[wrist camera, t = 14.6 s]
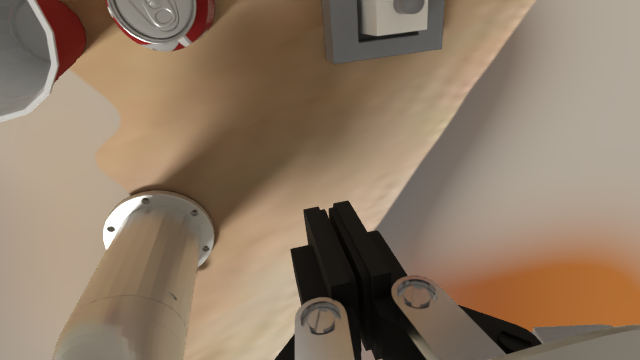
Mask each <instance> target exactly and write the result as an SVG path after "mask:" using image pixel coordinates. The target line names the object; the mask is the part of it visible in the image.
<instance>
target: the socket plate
mask: <svg viewBox="0 0 640 360" xmlns="http://www.w3.org/2000/svg"><path fill="white" fill-rule="evenodd" d="M444 2H445V0H428V17H427V30H419V31H412V32H404V33H397V34H389V35H382V36H373V35H368V34H362V33H358V20H357V0H321V4H322V15H323V27H324V38H325V50H326V60H327V61H329V62H331V63H333V64H339V63H346V62H353V61H360V60H367V59H374V58H381V57H388V56H396V55H403V54H410V53H417V52H424V51H431V50H438V49H442V36H443V19H444Z"/></svg>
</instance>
